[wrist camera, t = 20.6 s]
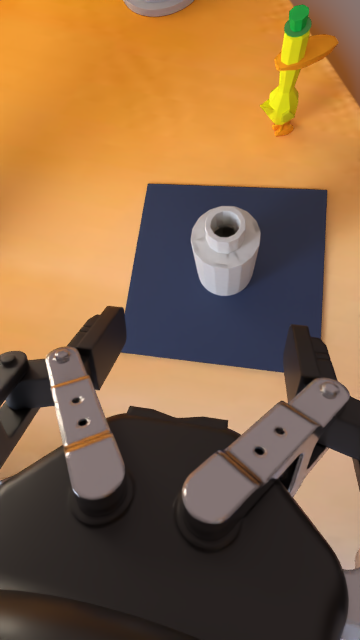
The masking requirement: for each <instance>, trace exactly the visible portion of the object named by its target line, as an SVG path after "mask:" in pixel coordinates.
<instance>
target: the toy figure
mask: <svg viewBox="0 0 360 640" xmlns="http://www.w3.org/2000/svg"><path fill="white" fill-rule="evenodd" d="M308 14H309V8H308V7H306V6H305V5H299V6H295V7H294V8H292V9H291V10H290V11H289V20H288V21H287V22H286V24H285V27H284V31H285V33H284V39H283V46H282V51H281V52H280V53H279V54H278V55H277V56H276V58H275V66H276V69H277V71H280V77H279V86H278V87H276V88H275V89H274V90H272V91H271V93H270V98H269V99H268V100H267V101H266V102H264V103H263V104H262V105H260V107H261V108H262V109H263V110H264V111H265V113H266V114H267V115H268V116H269V118H270V119H271V120H272V122H273V123H274V125H273V126H272V128H273V130H276V131H275V135H276V136H281V135H286V134H289V133H290V132H292V131H293V129H294V128H293V125H291V124H290V120H291V119H292V118H294V117H295V116H294V115H295V113H296V109H297V105H298V91H297V90H296V88H295V87H294V86H295V83H296V81H297V78H298V75H299V72H300V70H301V68H304V67H306V66H309V65H311V64H313V63H315V62H317V61H319V60H321V59H323V58H324V57H326V56H327V55H329V54H330V53H331V52H332V50H333V49H334V48H335V47H336V45H337V44H338V41H337V39H336V38H335V36H331V35H326V34H322V35H314V36H310V37H309V34H310V27H311V19H310V18H309V17H308Z"/></svg>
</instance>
